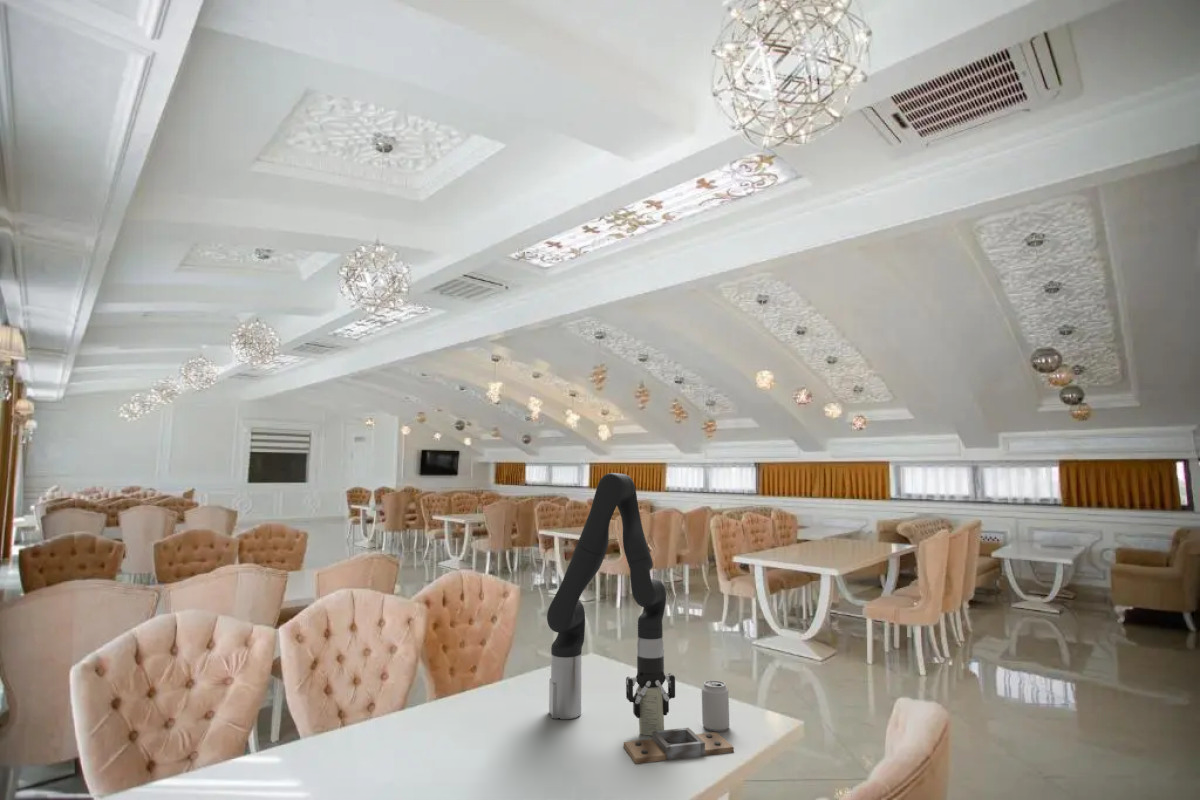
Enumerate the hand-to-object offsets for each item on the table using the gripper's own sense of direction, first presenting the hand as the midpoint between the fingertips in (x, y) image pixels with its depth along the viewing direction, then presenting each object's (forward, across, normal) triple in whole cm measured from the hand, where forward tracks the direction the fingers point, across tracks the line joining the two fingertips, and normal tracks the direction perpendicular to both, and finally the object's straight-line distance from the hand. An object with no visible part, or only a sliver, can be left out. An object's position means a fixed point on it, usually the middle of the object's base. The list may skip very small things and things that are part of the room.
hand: (651, 715), depth 165 cm
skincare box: (+5, 0, 0) cm, 5 cm away
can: (+5, -19, +1) cm, 20 cm away
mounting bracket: (+4, -3, +12) cm, 13 cm away
